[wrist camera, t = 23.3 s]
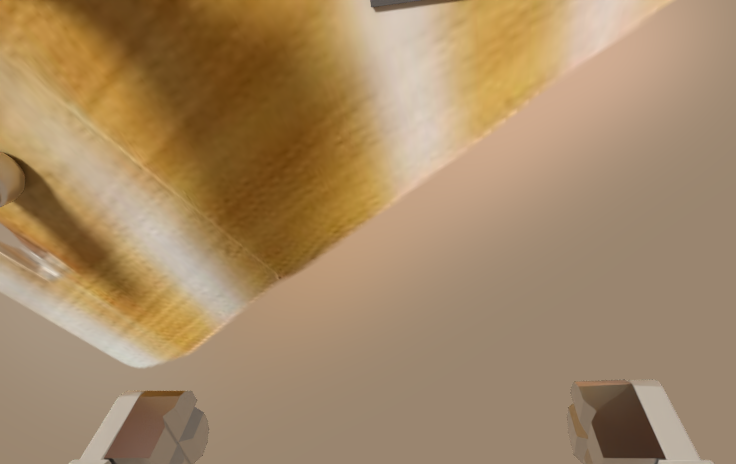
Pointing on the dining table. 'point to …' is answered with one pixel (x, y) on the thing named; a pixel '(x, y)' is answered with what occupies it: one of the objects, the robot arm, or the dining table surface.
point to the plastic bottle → (10, 180)
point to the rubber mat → (388, 2)
